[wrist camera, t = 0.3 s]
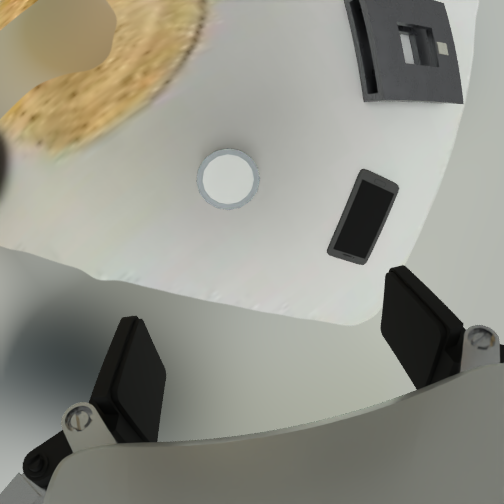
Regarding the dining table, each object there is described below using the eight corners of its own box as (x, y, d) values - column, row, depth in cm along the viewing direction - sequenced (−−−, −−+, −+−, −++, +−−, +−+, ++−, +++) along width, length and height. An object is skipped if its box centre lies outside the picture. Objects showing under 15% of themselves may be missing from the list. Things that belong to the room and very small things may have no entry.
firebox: (343, 0, 29) (361, -15, 24) (421, 11, 29) (444, 3, 24) (363, 101, 36) (385, 100, 30) (439, 103, 36) (464, 104, 30)
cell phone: (398, 184, 42) (400, 186, 41) (363, 264, 47) (364, 266, 46) (360, 166, 40) (362, 167, 39) (324, 252, 45) (325, 254, 44)
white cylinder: (241, 135, 37) (245, 138, 30) (261, 183, 40) (269, 195, 33) (192, 157, 37) (185, 164, 31) (214, 203, 40) (212, 219, 34)
